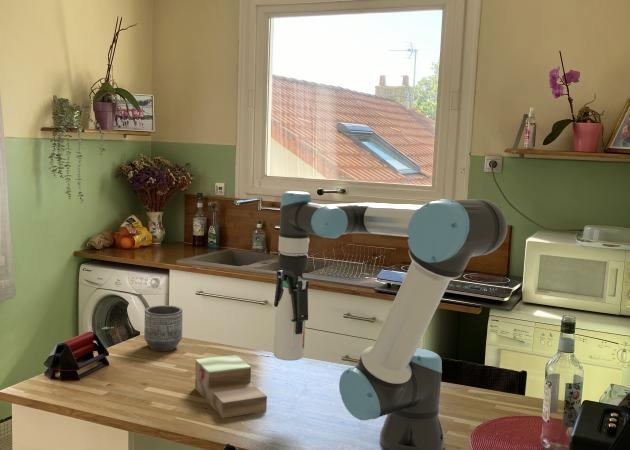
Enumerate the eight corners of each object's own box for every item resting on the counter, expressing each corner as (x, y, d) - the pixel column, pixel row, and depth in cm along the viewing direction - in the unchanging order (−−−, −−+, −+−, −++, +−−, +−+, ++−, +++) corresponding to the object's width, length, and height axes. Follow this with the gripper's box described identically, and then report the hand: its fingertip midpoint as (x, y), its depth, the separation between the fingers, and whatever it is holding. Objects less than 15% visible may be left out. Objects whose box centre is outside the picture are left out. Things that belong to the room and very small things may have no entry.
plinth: (268, 410, 184) (269, 379, 183) (220, 418, 178) (221, 386, 177) (237, 382, 203) (238, 354, 202) (193, 388, 197) (193, 359, 196)
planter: (187, 350, 230) (187, 312, 229) (150, 355, 224) (151, 316, 223) (174, 340, 241) (175, 303, 239) (139, 344, 235) (139, 306, 233)
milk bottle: (299, 363, 177) (303, 284, 174) (269, 359, 178) (273, 282, 175) (306, 353, 184) (310, 278, 181) (277, 350, 186) (281, 275, 183)
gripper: (325, 260, 170) (320, 351, 173) (289, 245, 188) (285, 328, 191) (298, 261, 167) (293, 354, 170) (263, 246, 185) (259, 330, 188)
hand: (289, 340), depth 181 cm, fingers closed on milk bottle, 8 cm apart
